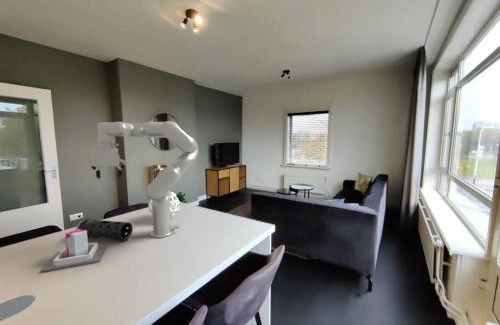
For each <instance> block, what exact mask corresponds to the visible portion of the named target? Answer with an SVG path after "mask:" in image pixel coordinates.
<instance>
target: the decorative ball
mask: <svg viewBox="0 0 500 325" xmlns="http://www.w3.org/2000/svg"><path fill="white" fill-rule="evenodd" d="M147 207H148V209H149V212H150V213H151V214H152V199H150V198H149V201H148V206H147ZM180 207H181V201H180V200H179V198H178V197H177V195H176V193H175V192H173V191H171V190H170V215H171V218H172V217H173V216H174V215H175V214H176V213H177V212H178V211H179V209H180Z"/></svg>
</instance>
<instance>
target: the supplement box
mask: <svg viewBox="0 0 500 325" xmlns="http://www.w3.org/2000/svg"><path fill="white" fill-rule="evenodd" d="M65 243H66V245H65V246H66V247H67V258H69V257H75V256H81V255H86V254H89V253H88V244H89V242H88V237H87V230H81V229H77V230H76V229H75V230H72V231H69V232H66V233H65ZM66 247H65V248H66Z"/></svg>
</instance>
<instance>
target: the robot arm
mask: <svg viewBox="0 0 500 325" xmlns="http://www.w3.org/2000/svg"><path fill="white" fill-rule="evenodd" d="M96 126H97V127H96V128H97V129H96V130H97V137H98V138H97V139H98V140H97V141H98V148H97V150H96V159H95V160H92V161H91V162H89V163H88V164H89V166H90V168H91V169H92V170H94V171H95V177H96V178H97V179H99V180H100V179H101V170H100V169H101V168H117V169H118V170H117V173H118V178H121V177H122V176H123V169H124V168H125V167H126V165H127V164H128V161H127V160H124V159H121V158H120V153H119V149H118V147H119V146H120V145H119V143H116V137H127V138H128V137H136V138H137V137H145V138H164V139H165V138H166V139H167V140H168V141H169V142H170V143H171V144H173V145H174V146H175V147H176V148H177V149H178V150H180V151H181V154H180V155H179V156H178V157H177V158H176V159H175V160H174V161H173V162H172V163H171V164H170V165H169V166H166V167H165V168H164V169H163V170H161V172H159V174H157V176H156V177H154V179H153V180H152V181H151V182H150V183H149V184H148V185H147V187H146V189H145V191H146V195H147V197H148V198H149V200H150V199H152V213H151V215H152V229H153V230H152V231H151V232H149V233H150V234H149V235H150V237H152V238H156V239H158V238H159V239H161V238H166V237H169V236H171V235H173V234H174V233H175V230H179V229H180V225H177V224H178V223H177V224H172V221H171V220H172V219H171V218H172V217H171V215H170V213H171V212H170V204H171V203H170V196H171V195H170V191H171V190H172V189H173V187H174V186H175V185H176V184H177V183H178V181H179V180H180V179H181V178H182V177H183V176H184V174H185V173H186V172H187V171H188V170H189V169H190V167H192V165H193V164H194V163H195V161H196V160H197V157H198V154H199V145H198V143H197V141H196V139H195V138H194V137H192V136H190V135H188V134H187V133H186V132H185V131H184V130H182V129H181V128H180V126H179V125H178V123H177V122H174V121H172V120H171V121H170V120H167V121H147V122H143V123H137V122H136V123H133V122H131V123H130V122H129V123H128V122H123V121H113V122H107V121H106V122H105V121H104V122H103V121H101V122H98V123H97V125H96ZM116 147H117V148H116ZM121 163H122V165H121ZM94 164H96V166H95V165H94Z"/></svg>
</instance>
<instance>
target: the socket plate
mask: <svg viewBox="0 0 500 325" xmlns="http://www.w3.org/2000/svg"><path fill="white" fill-rule="evenodd" d="M107 248H108V244H102V245H99V244H98V242H92V243H91V242H90V243H89V242H88V253H89V254H86V255H81V256H75V257H69V258H67V247H64V248H63V249H62V250H61V251H59V252H58V251H57V253H56V254H54V255H53V257H51V259H49V261H48V262H47V263H46V265H45V266H43V267H42V268H41V270H40V273H41V274H44V273H49V272H55V271H60V270H66V269H71V268H77V267H81V266H87V265H93V264H97V263H98V264H99V263H100V262H101V260H102V258H103V256H104V255H105V253H106V250H107Z"/></svg>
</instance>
